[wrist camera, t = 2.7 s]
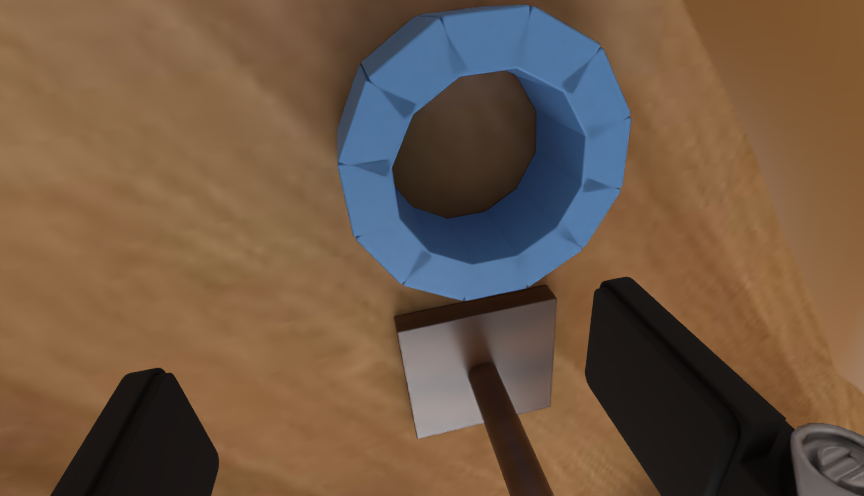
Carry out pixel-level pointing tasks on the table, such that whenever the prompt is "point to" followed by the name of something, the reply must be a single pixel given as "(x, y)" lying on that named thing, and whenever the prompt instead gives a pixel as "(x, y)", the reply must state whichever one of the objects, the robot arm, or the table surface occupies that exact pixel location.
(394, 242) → the tape
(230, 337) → the table surface
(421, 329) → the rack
